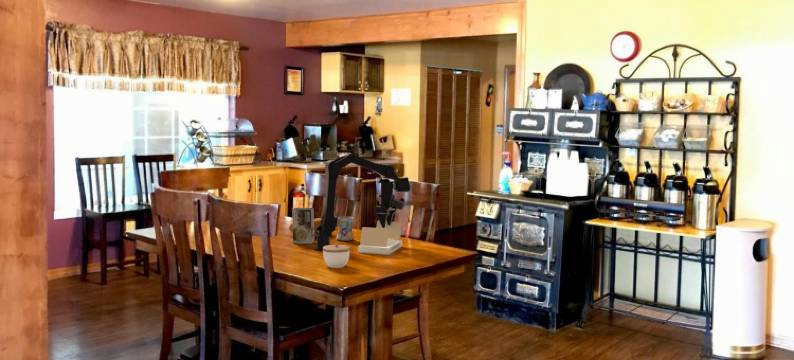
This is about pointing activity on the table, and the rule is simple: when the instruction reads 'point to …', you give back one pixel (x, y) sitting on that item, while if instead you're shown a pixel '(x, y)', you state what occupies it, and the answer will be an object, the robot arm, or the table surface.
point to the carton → (381, 248)
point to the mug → (345, 228)
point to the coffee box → (303, 225)
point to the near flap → (374, 237)
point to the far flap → (392, 229)
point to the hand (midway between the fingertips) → (386, 226)
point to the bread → (316, 224)
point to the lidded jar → (336, 255)
